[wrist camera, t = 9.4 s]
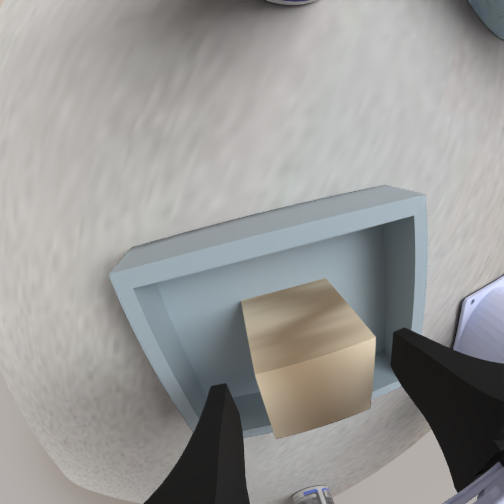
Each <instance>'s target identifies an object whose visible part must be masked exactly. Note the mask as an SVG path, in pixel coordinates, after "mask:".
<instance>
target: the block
mask: <svg viewBox="0 0 504 504" xmlns="http://www.w3.org/2000/svg"><path fill="white" fill-rule="evenodd" d="M241 304H242V310H243V315H244V321H245V326H246V331H247V337H248V342H249V347H250V352H251V358H252V363H253V368H254V373H255V377H256V380H257V383H258V386H259V389H260V393H261V396H262V399H263V402H264V405H265V408H266V411H267V414H268V417H269V420H270V423H271V426H272V429H273V432H274V435H275V438H276V439H279V438H283V437H287V436H291V435H294V434H298V433H302V432H305V431H309V430H312V429H315V428H318V427H322V426H325V425H328V424H331V423H334V422H337V421H340V420H342V419H345V418H348V417H351V416H353V415H356V414H358V413H361V412H363V411H366V410H368V409H370V406H371V398H372V388H373V377H374V364H375V347H376V337H375V335H374V334H373V333H372V332H371V331H370V329H369V328H368V327H367V326H366V325H365V323H364V322H363V321H362V320H361V319H360V317H359V316H358V315H357V314H356V313H355V311H354V310H353V309H352V308H351V307H350V306H349V304H348V303H347V302H346V301H345V300H344V299H343V297H342V296H341V295H340V294H339V293H338V292H337V291H336V289H335V288H334V287H333V286H332V285H331V284H330V282H329V281H328V280H327V279H326V278H324V279H320V280H317V281H313V282H309V283H306V284H302V285H298V286H295V287H291V288H287V289H284V290H280V291H276V292H272V293H268V294H264V295H260V296H257V297H253V298H249V299H245V300H241Z"/></svg>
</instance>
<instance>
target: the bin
mask: <svg viewBox="0 0 504 504" xmlns="http://www.w3.org/2000/svg"><path fill="white" fill-rule="evenodd" d="M427 256H428V231H427V205H426V195H425V194H421V193H417V192H413V191H409V190H405V189H400V188H396V187H392V186H387V185H384V186H379V187H374V188H369V189H364V190H359V191H354V192H350V193H345V194H340V195H336V196H331V197H327V198H322V199H318V200H313V201H309V202H305V203H300V204H296V205H292V206H287V207H283V208H279V209H275V210H271V211H267V212H262V213H258V214H254V215H250V216H246V217H242V218H238V219H234V220H230V221H227V222H223V223H219V224H215V225H211V226H207V227H204V228H200V229H196V230H193V231H189V232H185V233H182V234H178V235H174V236H171V237H167V238H164V239H160V240H156V241H153V242H149V243H146V244H142V245H139V246H136V247H132V248H131V249H130V250H129V251H128V252H127V254H126V255H125V256H124V257H123V258H122V259H121V260H120V262H119V263H118V264H117V265H116V266H115V267H114V268H113V270H112V271H111V272H110V273H109V274H108V275H109V278H110V280H111V283H112V285H113V287H114V290H115V292H116V294H117V297H118V299H119V301H120V303H121V306H122V308H123V310H124V312H125V314H126V317H127V319H128V321H129V323H130V325H131V327H132V329H133V331H134V333H135V335H136V337H137V339H138V341H139V343H140V345H141V347H142V349H143V351H144V353H145V355H146V356H147V358H148V360H149V362H150V364H151V366H152V367H153V369H154V371H155V373H156V374H157V376H158V378H159V380H160V381H161V383H162V385H163V386H164V388H165V390H166V391H167V393H168V395H169V396H170V398H171V400H172V401H173V403H174V404H175V406H176V407H177V409H178V411H179V412H180V414H181V415H182V417H183V418H184V420H185V421H186V423H187V424H188V426H189V427H190V428H191V430H192V431H193V432H194V430H195V428H196V426H197V423H198V421H199V418H200V416H201V413H202V411H203V408H204V405H205V402H206V399H207V396H208V393H209V389H210V387H211V386H213V385H219V384H224V383H226V384H227V386H228V388H229V391H230V393H231V395H232V397H233V400H234V402H235V404H236V406H237V409H238V411H239V414H240V419H241V425H242V431H243V438H247V437H252V436H257V435H262V434H266V433H270V432H273V429H272V426H271V423H270V420H269V417H268V414H267V411H266V408H265V405H264V402H263V399H262V396H261V393H260V389H259V386H258V383H257V380H256V377H255V373H254V368H253V363H252V358H251V352H250V347H249V342H248V337H247V331H246V326H245V321H244V315H243V310H242V304H241V300H245V299H249V298H253V297H257V296H260V295H264V294H268V293H272V292H276V291H280V290H284V289H287V288H291V287H295V286H298V285H302V284H306V283H309V282H313V281H317V280H320V279H324V278H326V279H327V280H328V281H329V282H330V284H331V285H332V286H333V287H334V288H335V289H336V291H337V292H338V293H339V294H340V295H341V296H342V297H343V299H344V300H345V301H346V302H347V303H348V304H349V306H350V307H351V308H352V309H353V310H354V311H355V313H356V314H357V315H358V316H359V317H360V319H361V320H362V321H363V322H364V323H365V325H366V326H367V327H368V328H369V329H370V331H371V332H372V333H373V334H374V335H375V337H376V347H375V364H374V377H373V388H372V398H371V400H372V399H375V398H377V397H379V396H381V395H384V394H386V393H388V392H390V391H393V390H395V389H397V388H399V387H401V384H400V383H399V381H398V379H397V377H396V376H395V374H394V372H393V370H392V368H391V366H390V363H391V353H392V341H393V332H395V331H397V330H399V329H402V328H404V327H405V328H407V329H409V330H412V331H414V332H416V333H418V334H420V335H421V333H422V325H423V317H424V307H425V296H426V282H427Z"/></svg>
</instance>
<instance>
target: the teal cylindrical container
mask: <svg viewBox="0 0 504 504" xmlns="http://www.w3.org/2000/svg"><path fill="white" fill-rule="evenodd" d="M467 1H468V2H469V4H470V5H471V7H472V8H473V9H474V11H475V12H476V13H477V15H478V16H479V17H480V19H481V20H482V21H483V23H484V24H485V25H486V26H487V27H488V28H489V29H490V30H491V31H492V32H493V33H494V34H495V35H496V36H497V37H499V38H500V39H502V40H504V0H467Z"/></svg>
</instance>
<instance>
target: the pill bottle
mask: <svg viewBox="0 0 504 504" xmlns="http://www.w3.org/2000/svg"><path fill="white" fill-rule="evenodd" d="M293 502H294V504H334V502H333V499H332V496H331V493H330V491H329V488H328V487H327V486H323V485H321V486H314V487H309V488H306V489H303V490H301V491H299V492H297V493H296V494H295V495H294V496H293Z"/></svg>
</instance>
